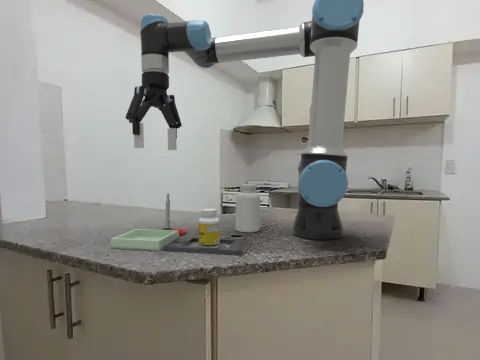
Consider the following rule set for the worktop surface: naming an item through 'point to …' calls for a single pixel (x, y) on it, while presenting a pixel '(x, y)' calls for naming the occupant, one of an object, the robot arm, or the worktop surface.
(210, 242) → the supplement bottle
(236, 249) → the dark grey slotted board
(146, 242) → the tray
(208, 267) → the worktop surface
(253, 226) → the pill bottle
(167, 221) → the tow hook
